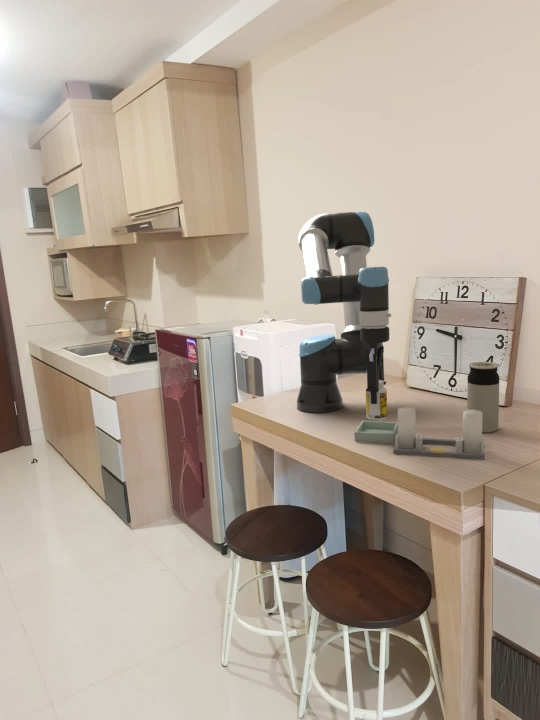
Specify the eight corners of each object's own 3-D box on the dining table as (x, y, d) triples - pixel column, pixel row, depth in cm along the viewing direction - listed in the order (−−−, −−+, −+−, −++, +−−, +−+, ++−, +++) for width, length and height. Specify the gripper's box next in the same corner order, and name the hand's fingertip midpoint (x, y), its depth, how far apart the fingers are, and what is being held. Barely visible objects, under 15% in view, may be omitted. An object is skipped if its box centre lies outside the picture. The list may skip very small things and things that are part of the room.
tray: (354, 441, 146) (354, 432, 145) (362, 429, 155) (361, 420, 154) (393, 443, 142) (393, 434, 142) (398, 431, 151) (398, 422, 151)
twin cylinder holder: (393, 453, 135) (392, 415, 133) (398, 440, 144) (397, 403, 142) (484, 460, 127) (485, 419, 126) (483, 445, 137) (484, 406, 135)
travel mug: (479, 435, 144) (480, 368, 141) (461, 426, 152) (461, 363, 149) (504, 430, 147) (506, 365, 143) (485, 422, 154) (486, 360, 151)
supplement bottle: (376, 422, 144) (375, 384, 142) (362, 417, 148) (360, 381, 146) (391, 417, 147) (390, 380, 145) (376, 413, 151) (376, 377, 149)
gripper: (383, 331, 133) (385, 422, 137) (393, 321, 150) (395, 403, 154) (353, 331, 136) (356, 421, 140) (366, 322, 153) (368, 402, 157)
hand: (376, 411), depth 147 cm, fingers closed on supplement bottle, 6 cm apart
